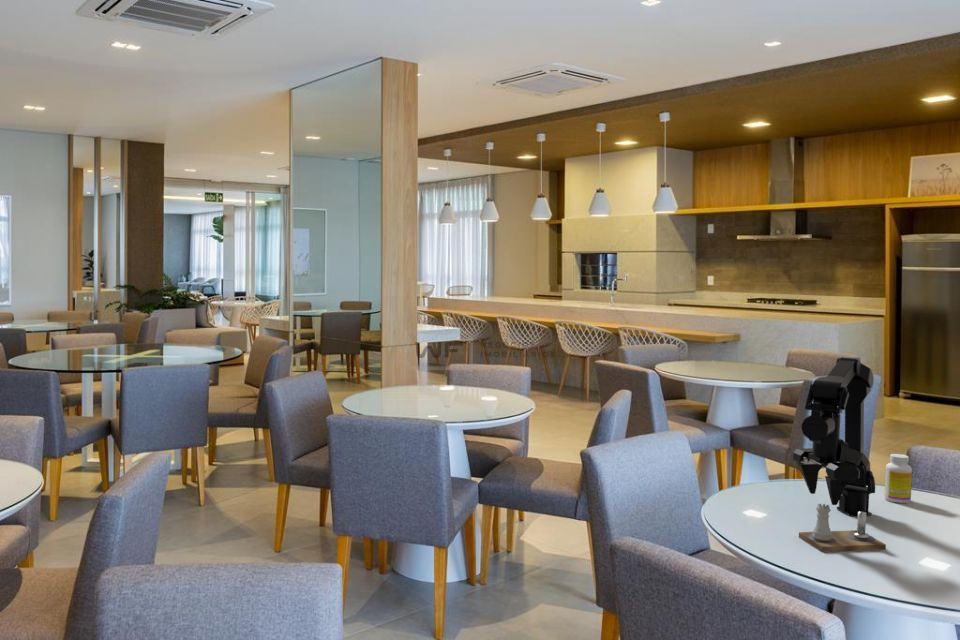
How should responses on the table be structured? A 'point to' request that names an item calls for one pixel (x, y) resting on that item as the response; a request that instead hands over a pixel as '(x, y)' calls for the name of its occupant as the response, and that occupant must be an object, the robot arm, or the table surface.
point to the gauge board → (843, 542)
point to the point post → (861, 526)
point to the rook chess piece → (822, 524)
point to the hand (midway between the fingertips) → (823, 499)
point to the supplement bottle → (898, 479)
